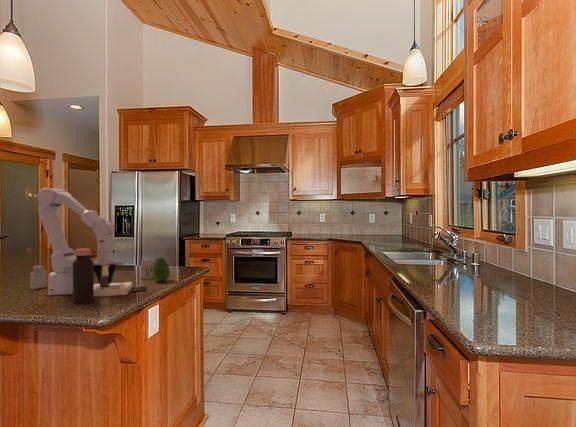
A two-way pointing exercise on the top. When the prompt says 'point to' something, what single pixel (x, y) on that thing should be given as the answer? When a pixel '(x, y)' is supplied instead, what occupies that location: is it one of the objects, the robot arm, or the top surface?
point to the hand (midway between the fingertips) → (105, 282)
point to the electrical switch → (147, 269)
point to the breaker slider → (104, 281)
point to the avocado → (160, 270)
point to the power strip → (116, 289)
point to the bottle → (83, 277)
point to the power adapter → (37, 277)
